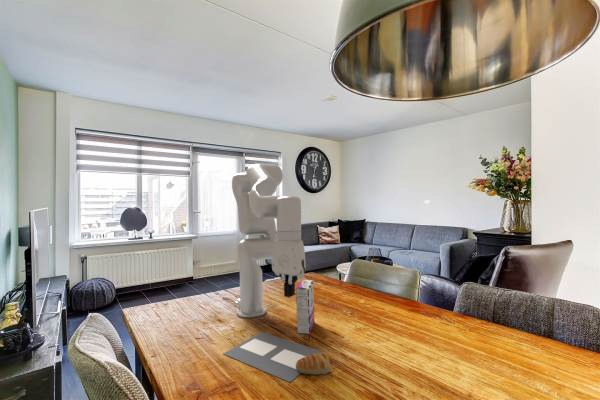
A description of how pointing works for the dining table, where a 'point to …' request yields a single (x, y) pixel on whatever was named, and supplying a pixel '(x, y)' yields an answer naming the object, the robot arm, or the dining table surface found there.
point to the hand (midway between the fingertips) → (289, 295)
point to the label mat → (272, 355)
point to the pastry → (314, 364)
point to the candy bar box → (305, 306)
